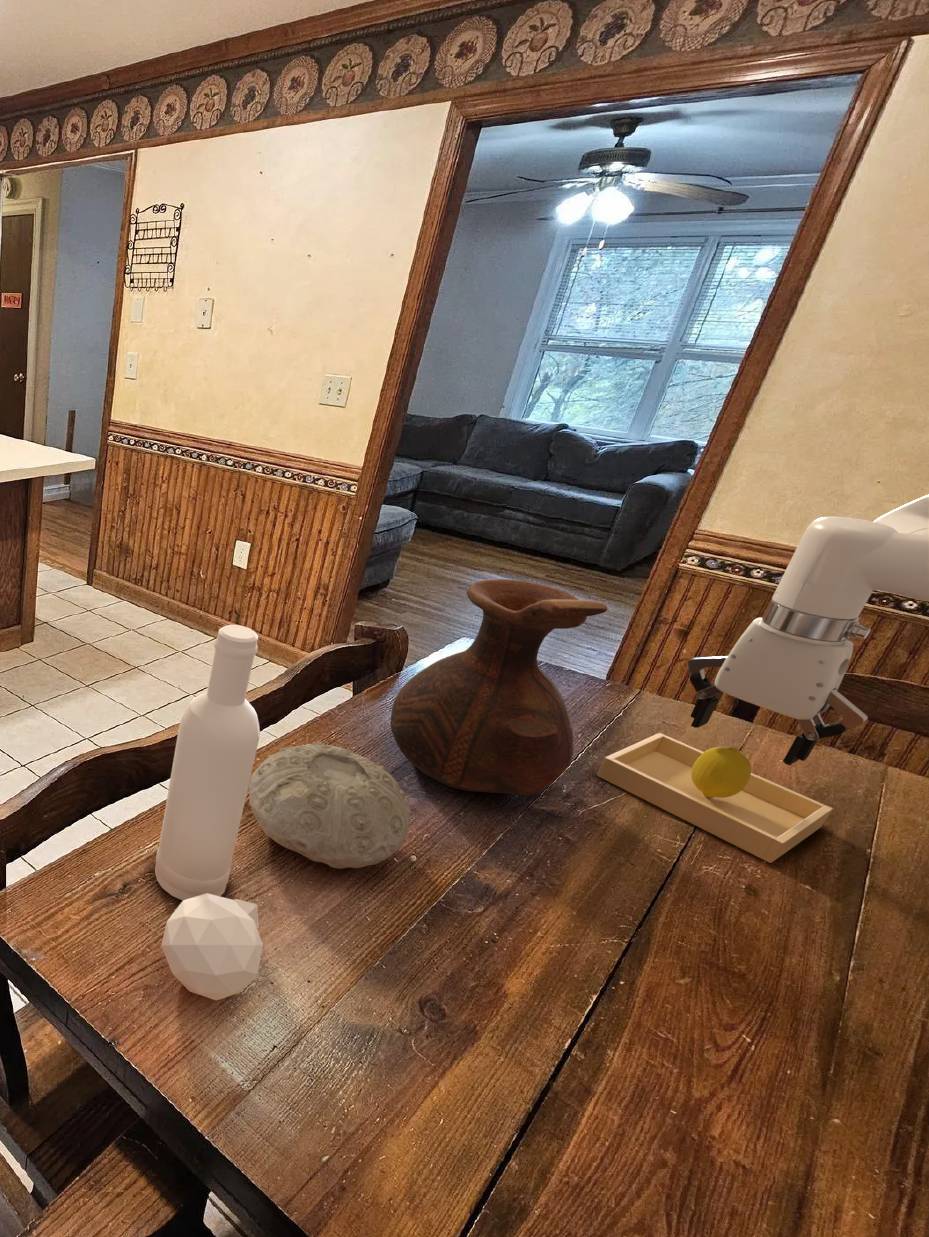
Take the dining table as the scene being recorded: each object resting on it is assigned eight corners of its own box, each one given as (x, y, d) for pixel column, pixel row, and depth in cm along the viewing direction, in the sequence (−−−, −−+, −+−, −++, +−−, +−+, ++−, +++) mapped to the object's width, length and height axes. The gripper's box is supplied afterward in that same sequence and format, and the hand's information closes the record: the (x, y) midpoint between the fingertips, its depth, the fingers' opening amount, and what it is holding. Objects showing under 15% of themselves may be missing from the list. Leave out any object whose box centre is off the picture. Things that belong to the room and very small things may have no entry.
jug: (350, 760, 105) (409, 559, 92) (416, 713, 118) (476, 531, 105) (519, 843, 91) (618, 618, 77) (572, 779, 104) (665, 577, 91)
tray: (820, 827, 97) (833, 808, 96) (770, 863, 90) (783, 843, 89) (650, 749, 112) (659, 732, 111) (596, 775, 105) (604, 757, 104)
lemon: (694, 805, 99) (722, 755, 95) (673, 781, 104) (698, 732, 100) (742, 813, 98) (772, 762, 94) (718, 789, 103) (746, 740, 99)
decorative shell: (347, 913, 79) (371, 839, 74) (212, 823, 91) (226, 755, 86) (424, 846, 89) (449, 777, 85) (294, 774, 101) (310, 710, 97)
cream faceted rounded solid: (236, 1036, 63) (292, 965, 72) (230, 935, 61) (288, 876, 70) (147, 1000, 69) (209, 939, 77) (140, 908, 67) (204, 857, 76)
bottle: (162, 845, 87) (203, 608, 74) (231, 865, 84) (285, 624, 71) (146, 891, 80) (188, 639, 67) (220, 914, 78) (279, 657, 64)
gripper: (919, 644, 84) (843, 769, 92) (732, 593, 98) (679, 706, 105) (895, 656, 81) (818, 786, 88) (705, 601, 94) (652, 718, 102)
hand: (742, 742), depth 97 cm, fingers open, 9 cm apart
